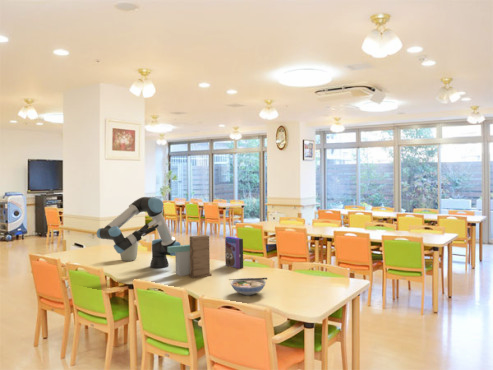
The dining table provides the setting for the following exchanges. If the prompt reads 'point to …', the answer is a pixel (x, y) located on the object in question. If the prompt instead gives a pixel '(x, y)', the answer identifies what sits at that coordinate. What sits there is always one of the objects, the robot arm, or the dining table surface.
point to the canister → (130, 253)
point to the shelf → (182, 263)
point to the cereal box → (234, 252)
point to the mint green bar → (178, 248)
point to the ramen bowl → (248, 285)
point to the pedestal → (199, 256)
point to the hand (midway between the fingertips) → (158, 221)
